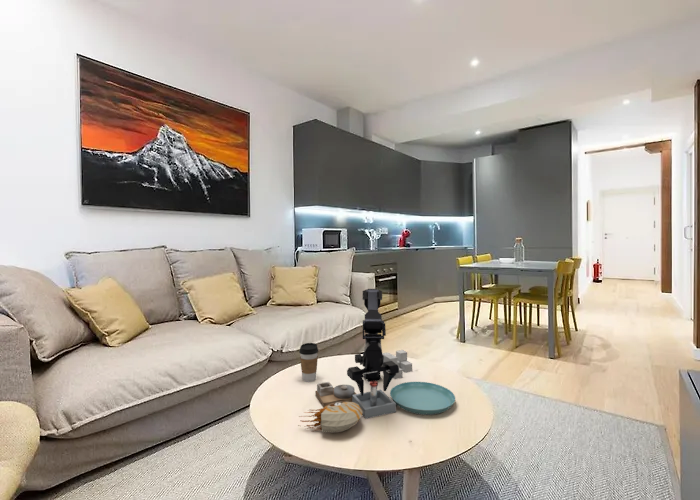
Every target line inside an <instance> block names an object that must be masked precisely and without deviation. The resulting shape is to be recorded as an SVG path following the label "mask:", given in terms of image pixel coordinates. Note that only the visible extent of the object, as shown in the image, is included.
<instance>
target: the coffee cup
mask: <svg viewBox="0 0 700 500" xmlns="http://www.w3.org/2000/svg"><path fill="white" fill-rule="evenodd" d="M299 348H300V349H299V351H298V352H299V355H300V357H299V361H300V369H301V376H302V378H301V379H302V381H304V382H306V383H311V382H315V381H316V379H317V370H318V369H317V368H318V359H319V355H318V353H319V348H318V344H316V343H314V342H305V343H303V344H302V345H300V347H299Z"/></svg>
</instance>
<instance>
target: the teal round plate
mask: <svg viewBox="0 0 700 500" xmlns="http://www.w3.org/2000/svg"><path fill="white" fill-rule="evenodd" d="M389 395H390V396H389V397H390V398H391V399H392V400H393V401H394V402H395V403H396V406H398V407H399V408H400V409H402V410H404V411H406V412H409V413H411V414H416V415H422V416H425V415H426V416H432V415H433V416H434V415H439V414H441V413H444V412H446V411H447V410H448V411H449V409H450V408H451V407H452V406H453V405H454V404H455V402H456V395H455V394H454V392H452V391H451V390H450V389H448V388H447V387H445V386H444V385H443V386H442V385H440V384H436V383H434V382H433V383H432V382H428V381H407V382H403V383H399V384H397V385H394V386H393V387H392V388H391V390H390V392H389Z"/></svg>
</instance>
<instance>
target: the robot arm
mask: <svg viewBox="0 0 700 500" xmlns="http://www.w3.org/2000/svg"><path fill="white" fill-rule="evenodd" d="M362 301H363V303H364V306H365V308H366V310H367V312H366V313H365V314H364V319H363V320H362V340H365V343H364V344H365V346H364V351H363V352H362V354H361V353H356V354H354V362H355V364H359V365H360V366H362V367H363V368H360V367H359V366H351V367H350V366H349V367H348V368H347V369H346V375H347V376H348V378H350V379H351V380H352V381H354V382H355V383H356V384H357V387H358V390H359V394H361V395H362V396H363V393H365V392H364V389H365V388H364V384H365V383H364V382H365V380H366V381H367V383H368V382H369V383H370V381H377V382H378V381H381V380H383V382H382V386H383V387H382V389H383V390H382V391H383V392H386V391H387V390H388V387H389V386H390V383H391V381H392V380H393V379H394V378H393V377H394V376H396V373H399V366H398V365H397V364H395V363H394V362H393V361H388V362H384V356H383V354H382V353H383V348H382V340H385V337H386V336H387V335H386V333H387V331H386V322H385V320H382V319H383V317H382V314H381V313H380V312H379V308H380V306H381V301H383V290H381V289H378V288H367V289H365V290H362ZM383 362H384V363H383ZM382 365H383V366H382ZM381 372H382V374H383V376H382V377H383V378H382V377H381ZM363 378H364V379H365V380H364V379H363Z"/></svg>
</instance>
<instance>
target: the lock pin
mask: <svg viewBox="0 0 700 500" xmlns="http://www.w3.org/2000/svg"><path fill="white" fill-rule="evenodd" d="M378 385H379V382H378V380H377V381H370V382H369V386H370V388H369V390H370V391H369V392H370V406H371V407H373V406H377V390H378Z"/></svg>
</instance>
